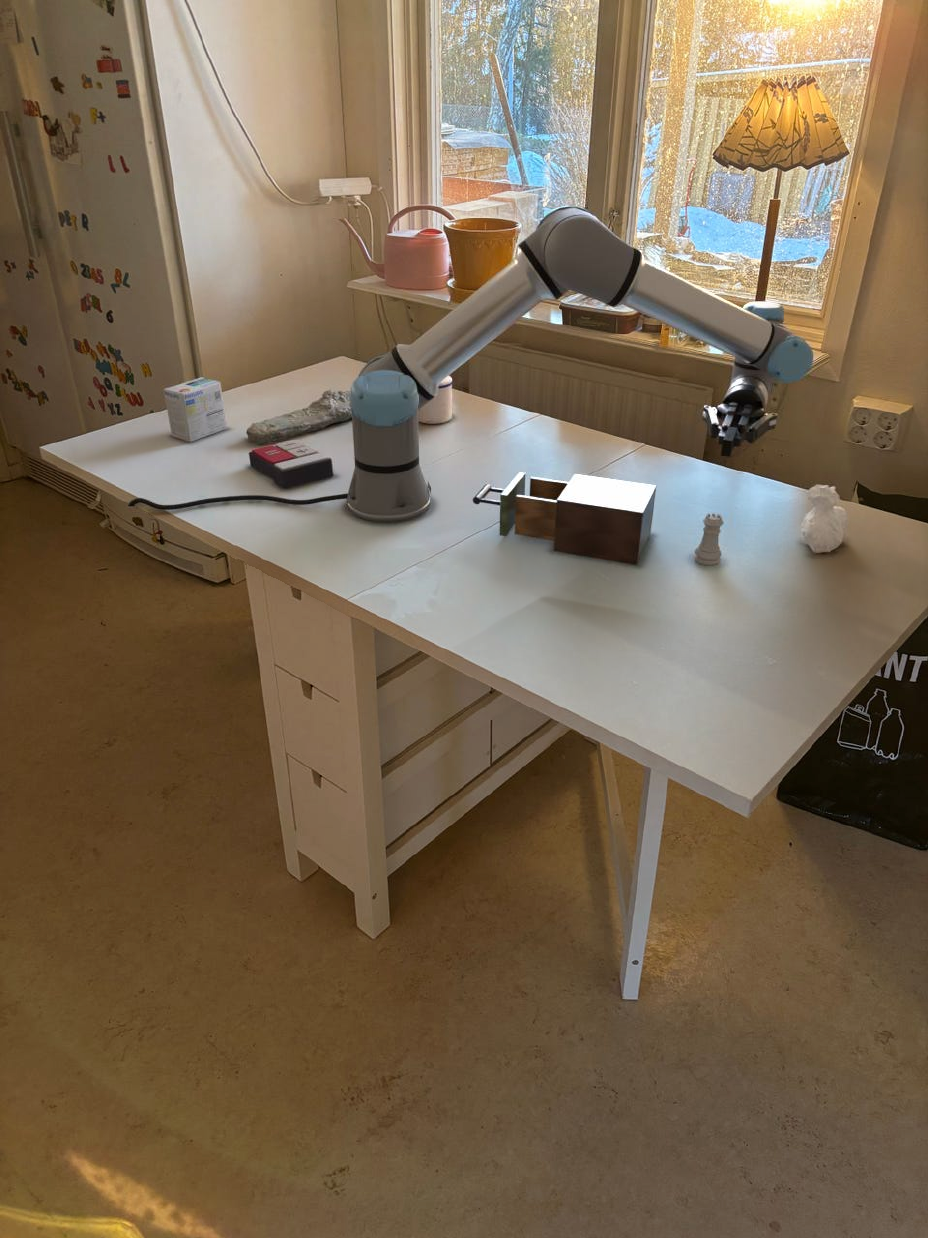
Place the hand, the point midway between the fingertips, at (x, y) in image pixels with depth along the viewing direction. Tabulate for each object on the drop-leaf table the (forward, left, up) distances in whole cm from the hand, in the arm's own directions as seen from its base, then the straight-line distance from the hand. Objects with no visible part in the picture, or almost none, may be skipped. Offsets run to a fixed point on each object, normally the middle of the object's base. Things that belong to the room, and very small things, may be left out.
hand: (726, 448), depth 147 cm
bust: (+17, +5, -17) cm, 25 cm away
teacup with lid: (-70, +41, -17) cm, 83 cm away
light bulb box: (-113, +13, -17) cm, 115 cm away
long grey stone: (-92, +27, -17) cm, 97 cm away
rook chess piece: (0, -8, -17) cm, 19 cm away
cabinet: (-17, -8, -17) cm, 25 cm away
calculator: (-83, +1, -17) cm, 85 cm away
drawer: (-31, -8, -16) cm, 35 cm away
